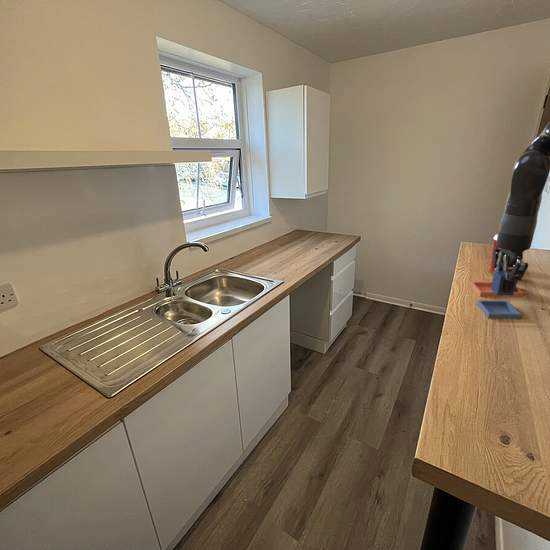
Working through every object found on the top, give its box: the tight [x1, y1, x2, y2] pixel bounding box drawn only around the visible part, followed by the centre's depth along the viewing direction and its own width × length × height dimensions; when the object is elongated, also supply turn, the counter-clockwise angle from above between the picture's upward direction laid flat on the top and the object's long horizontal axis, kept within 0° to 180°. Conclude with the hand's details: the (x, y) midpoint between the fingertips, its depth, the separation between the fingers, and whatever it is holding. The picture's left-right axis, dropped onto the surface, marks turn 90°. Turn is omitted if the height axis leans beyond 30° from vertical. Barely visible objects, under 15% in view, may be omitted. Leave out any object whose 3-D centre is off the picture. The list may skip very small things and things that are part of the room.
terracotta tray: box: [470, 281, 524, 298], centre depth 101 cm, size 12×8×2 cm
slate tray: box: [476, 299, 523, 320], centre depth 89 cm, size 8×8×2 cm
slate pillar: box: [491, 271, 517, 295], centre depth 86 cm, size 4×4×6 cm
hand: (502, 287), depth 87 cm, fingers closed on slate pillar, 4 cm apart
